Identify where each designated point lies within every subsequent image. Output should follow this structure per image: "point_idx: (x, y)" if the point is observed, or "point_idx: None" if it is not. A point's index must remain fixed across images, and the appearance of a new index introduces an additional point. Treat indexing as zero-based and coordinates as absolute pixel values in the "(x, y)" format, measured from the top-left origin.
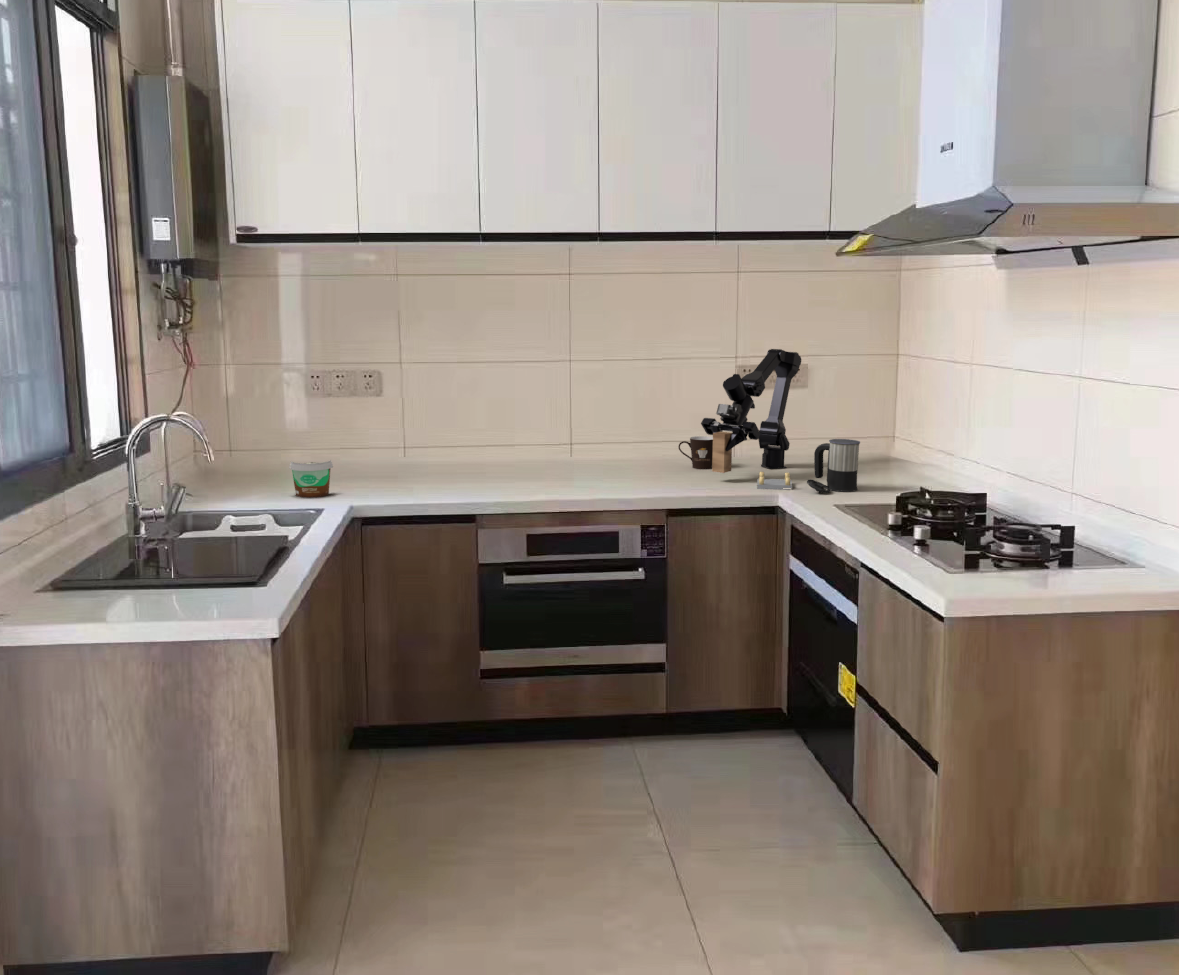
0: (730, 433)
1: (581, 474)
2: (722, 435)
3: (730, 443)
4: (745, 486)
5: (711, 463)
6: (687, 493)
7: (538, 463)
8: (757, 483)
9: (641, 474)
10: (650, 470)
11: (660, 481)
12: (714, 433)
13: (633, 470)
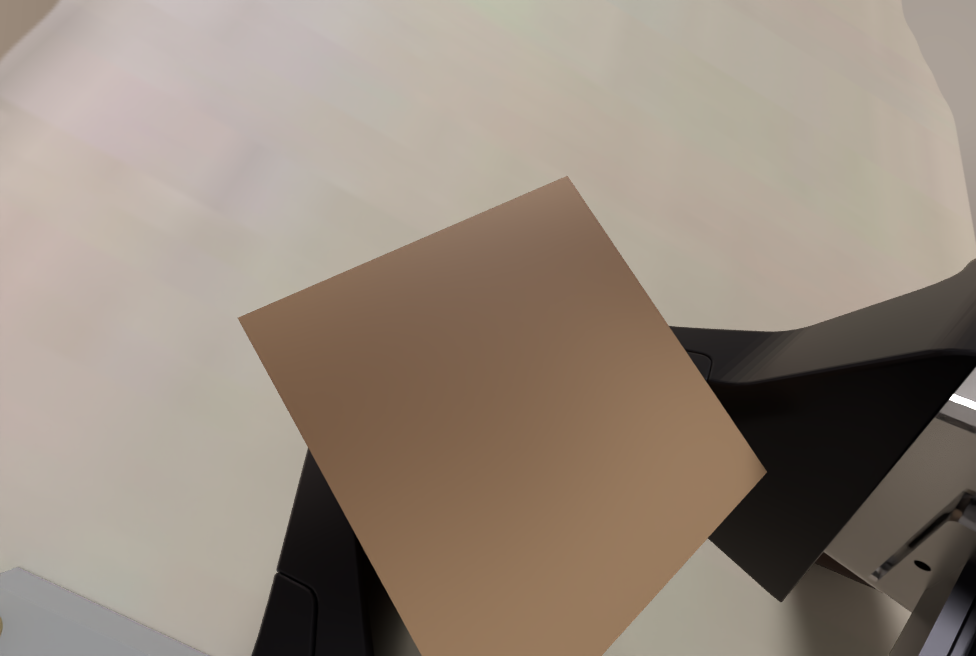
0: (425, 653)
1: (710, 10)
2: (321, 295)
3: (296, 506)
4: (168, 508)
5: (824, 558)
6: (155, 67)
7: (874, 26)
8: (35, 607)
9: (686, 166)
10: (762, 242)
11: (521, 143)
12: (534, 191)
13: (766, 186)
